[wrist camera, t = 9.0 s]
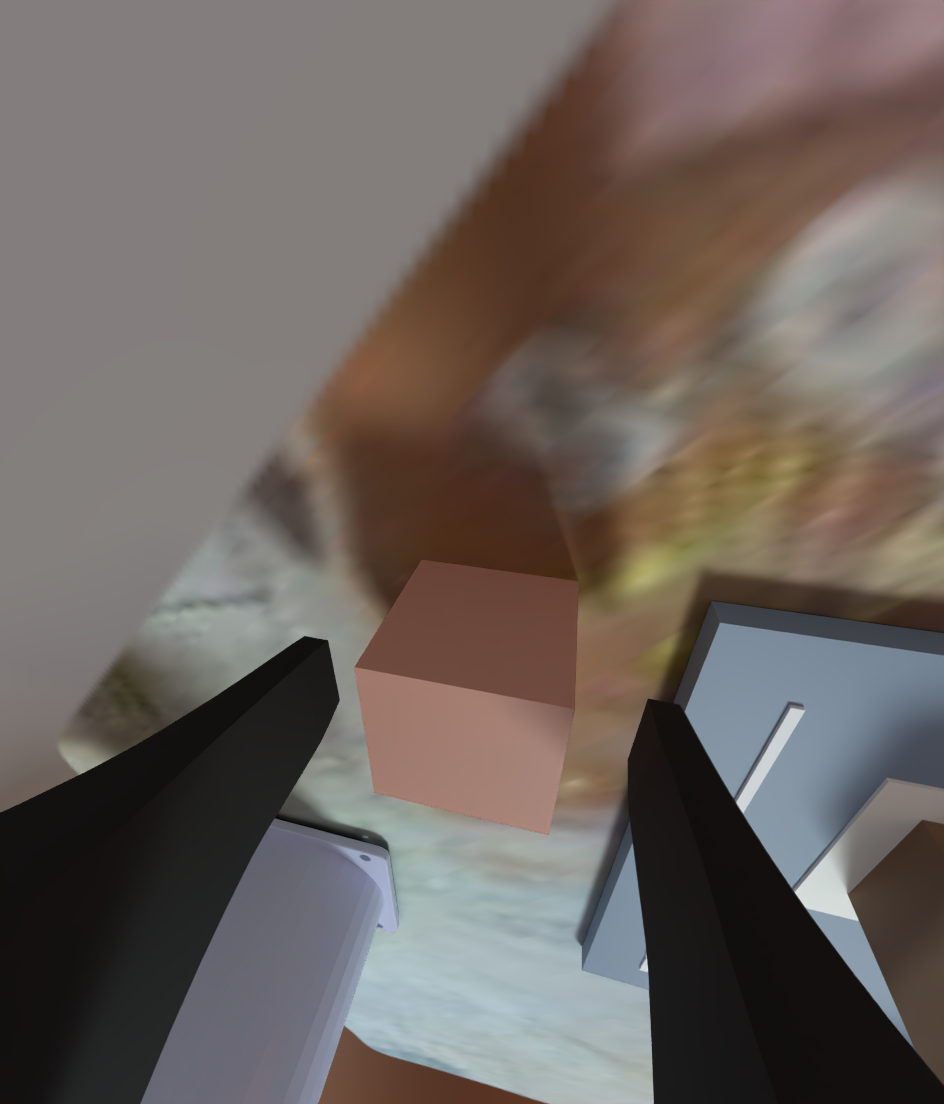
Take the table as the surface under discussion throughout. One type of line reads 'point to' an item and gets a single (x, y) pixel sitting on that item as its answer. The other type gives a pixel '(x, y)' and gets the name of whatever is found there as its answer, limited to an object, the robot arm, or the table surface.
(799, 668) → the board
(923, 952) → the walnut block
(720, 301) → the table surface
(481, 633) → the brick red block
